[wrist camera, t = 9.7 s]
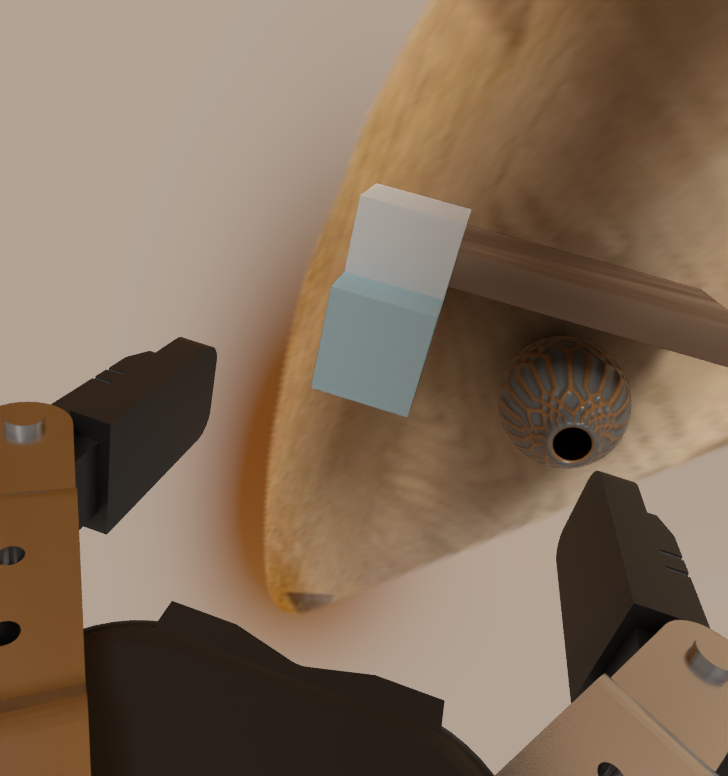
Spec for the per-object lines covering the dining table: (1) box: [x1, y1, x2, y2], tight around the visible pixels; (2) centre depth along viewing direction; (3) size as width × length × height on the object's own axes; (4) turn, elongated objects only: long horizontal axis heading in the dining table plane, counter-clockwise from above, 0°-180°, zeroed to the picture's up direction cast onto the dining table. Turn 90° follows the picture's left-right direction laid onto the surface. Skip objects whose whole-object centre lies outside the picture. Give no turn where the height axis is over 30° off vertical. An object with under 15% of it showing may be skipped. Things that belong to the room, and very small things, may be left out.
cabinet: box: [311, 183, 471, 417], centre depth 28 cm, size 9×5×8 cm, turn 165°
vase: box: [498, 336, 631, 468], centre depth 32 cm, size 7×7×9 cm
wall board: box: [448, 225, 728, 367], centre depth 29 cm, size 2×17×8 cm, turn 75°
